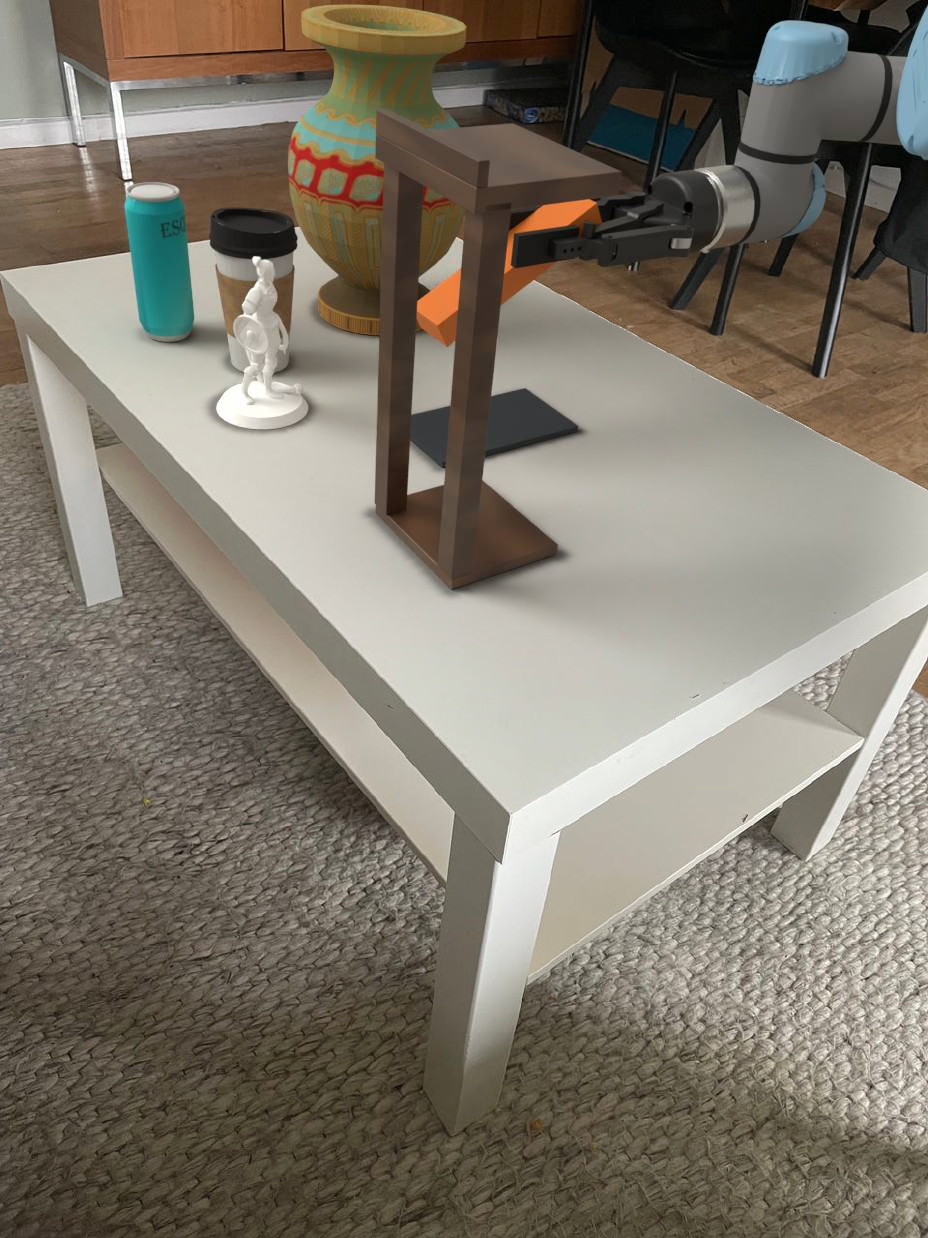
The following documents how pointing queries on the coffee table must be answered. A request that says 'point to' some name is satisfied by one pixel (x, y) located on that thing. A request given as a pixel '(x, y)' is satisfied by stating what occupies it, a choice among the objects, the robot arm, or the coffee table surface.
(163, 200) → the beverage can
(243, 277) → the coffee cup
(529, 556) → the walnut rack
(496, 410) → the rubber pad
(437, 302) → the orange block
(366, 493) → the coffee table surface
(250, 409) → the figurine
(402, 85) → the vase
